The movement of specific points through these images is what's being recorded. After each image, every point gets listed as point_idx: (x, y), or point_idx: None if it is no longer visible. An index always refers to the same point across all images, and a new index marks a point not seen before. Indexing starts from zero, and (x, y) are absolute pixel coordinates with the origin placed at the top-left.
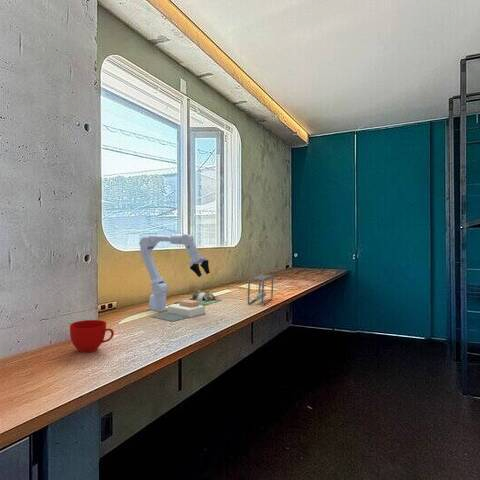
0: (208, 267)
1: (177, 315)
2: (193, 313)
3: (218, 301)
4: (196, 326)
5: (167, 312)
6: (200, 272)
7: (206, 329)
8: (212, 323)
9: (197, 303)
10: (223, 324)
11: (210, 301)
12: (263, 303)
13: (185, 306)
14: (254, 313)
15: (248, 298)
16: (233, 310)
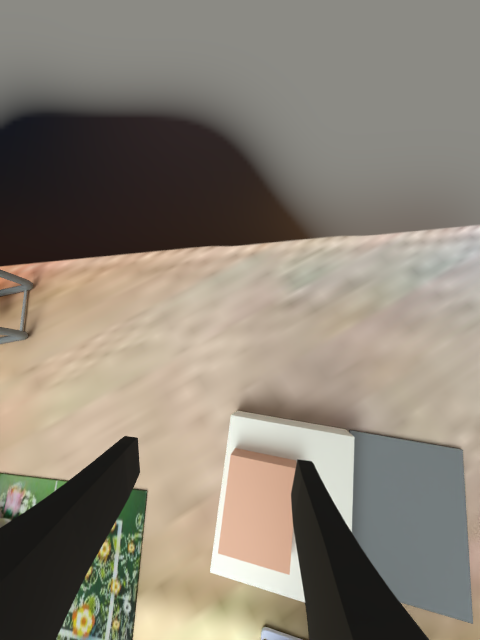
0: (63, 491)
1: (360, 493)
2: (315, 426)
3: (8, 474)
4: (448, 322)
5: None
6: (319, 494)
7: (456, 271)
8: (366, 298)
9: (246, 454)
10: (353, 261)
11: (22, 507)
12: (11, 290)
13: None
14: (151, 257)
15: (7, 330)
16: (140, 336)
